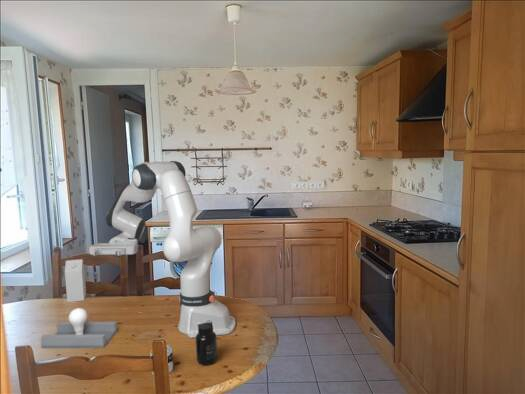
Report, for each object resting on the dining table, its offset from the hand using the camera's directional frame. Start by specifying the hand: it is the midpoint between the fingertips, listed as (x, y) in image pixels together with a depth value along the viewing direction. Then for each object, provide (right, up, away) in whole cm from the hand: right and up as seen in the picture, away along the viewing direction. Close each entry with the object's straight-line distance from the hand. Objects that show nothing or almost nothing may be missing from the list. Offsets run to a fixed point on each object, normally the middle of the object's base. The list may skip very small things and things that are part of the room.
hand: (106, 253), depth 157 cm
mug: (+35, -31, -38) cm, 60 cm away
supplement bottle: (+48, -30, -34) cm, 66 cm away
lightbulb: (-1, -28, -20) cm, 34 cm away
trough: (-1, -29, -20) cm, 35 cm away
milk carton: (-21, -24, +18) cm, 37 cm away
